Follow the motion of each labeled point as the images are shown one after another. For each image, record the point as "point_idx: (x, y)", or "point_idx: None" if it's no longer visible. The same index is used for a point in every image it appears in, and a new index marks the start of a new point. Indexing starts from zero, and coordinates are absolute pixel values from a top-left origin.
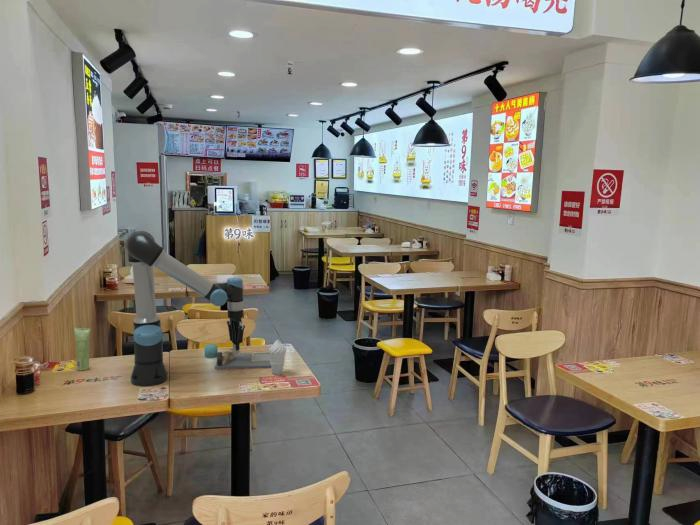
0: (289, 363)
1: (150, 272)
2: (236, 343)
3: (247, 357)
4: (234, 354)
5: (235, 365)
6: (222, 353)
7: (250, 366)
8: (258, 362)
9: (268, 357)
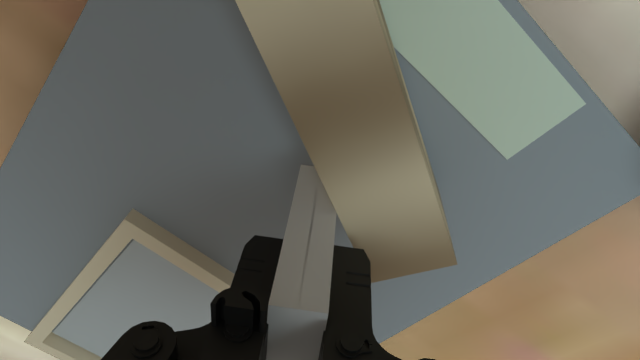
0: (23, 351)
1: None
2: (214, 328)
3: None
4: (303, 183)
5: (120, 19)
6: (365, 15)
7: (24, 127)
8: (89, 239)
9: None
